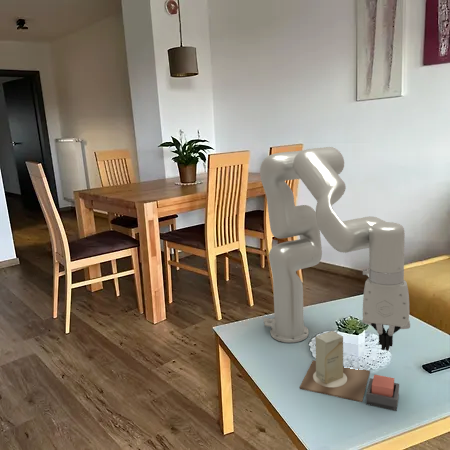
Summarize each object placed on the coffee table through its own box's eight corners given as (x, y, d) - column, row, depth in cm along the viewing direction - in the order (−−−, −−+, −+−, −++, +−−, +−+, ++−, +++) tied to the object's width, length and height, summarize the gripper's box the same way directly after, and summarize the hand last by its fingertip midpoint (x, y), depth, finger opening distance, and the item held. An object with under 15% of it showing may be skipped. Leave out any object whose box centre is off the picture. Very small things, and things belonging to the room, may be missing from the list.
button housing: (366, 404, 105) (366, 393, 105) (370, 388, 111) (370, 378, 111) (396, 411, 102) (397, 400, 101) (398, 394, 108) (399, 383, 108)
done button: (371, 393, 105) (371, 384, 105) (374, 383, 109) (374, 374, 109) (392, 398, 103) (392, 389, 102) (394, 387, 107) (394, 378, 107)
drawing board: (299, 388, 113) (299, 386, 113) (312, 361, 125) (312, 359, 125) (362, 402, 106) (362, 400, 106) (369, 372, 118) (369, 370, 118)
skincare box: (326, 384, 113) (325, 343, 110) (315, 376, 117) (314, 336, 114) (344, 377, 116) (344, 336, 113) (332, 369, 120) (332, 329, 117)
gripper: (350, 278, 99) (351, 350, 103) (421, 284, 93) (419, 360, 96) (355, 268, 106) (356, 336, 110) (422, 273, 99) (420, 345, 103)
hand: (385, 347), depth 103 cm, fingers closed
